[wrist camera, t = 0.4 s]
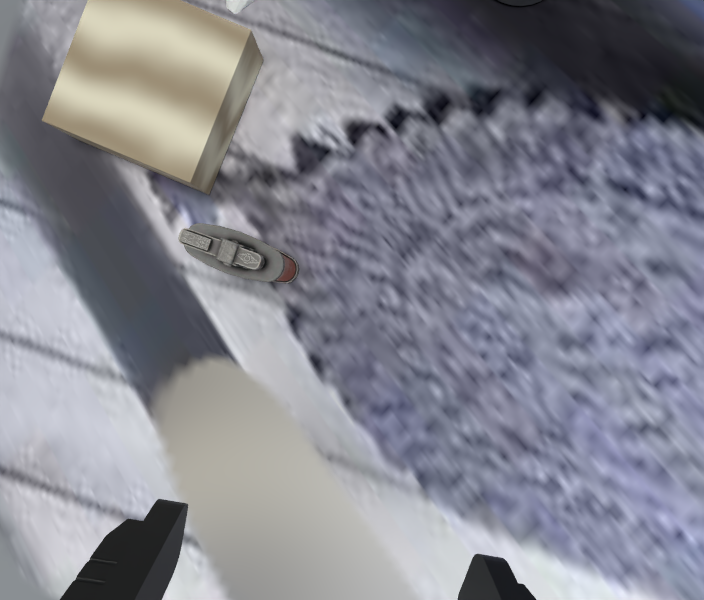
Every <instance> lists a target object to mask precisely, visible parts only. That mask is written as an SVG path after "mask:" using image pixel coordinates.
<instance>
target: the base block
mask: <svg viewBox="0 0 704 600" xmlns="http://www.w3.org/2000/svg"><path fill="white" fill-rule="evenodd" d="M262 62H263V58H262V55H261V53H260V50H259V48H258V45H257V43H256V41H255V38H254V36H253V33H252V31H251V30H250V29H247V28H245V27H243V26H240V25H238V24H236V23H233V22H231V21H228V20H226V19H224V18H221V17H219V16H216V15H214V14H212V13H209V12H207V11H204V10H202V9H200V8H197V7H195V6H192V5H190V4H188V3H185V2H183V1H180V0H88V1H87V4H86V7H85V9H84V12H83V14H82V17H81V20H80V22H79V25H78V28H77V30H76V33H75V35H74V38H73V41H72V43H71V46H70V48H69V51H68V54H67V56H66V59H65V61H64V64H63V67H62V69H61V72H60V75H59V77H58V80H57V82H56V85H55V88H54V90H53V93H52V95H51V98H50V101H49V103H48V106H47V109H46V111H45V114H44V116H43V119H42V121H44V122H46V123H48V124H49V125H51V126H53V127H55V128H57V129H59V130H61V131H62V132H64V133H66V134H68V135H70V136H72V137H74V138H76V139H77V140H80V141H82V142H84V143H87V144H89V145H92V146H94V147H96V148H99V149H101V150H103V151H106V152H108V153H111V154H113V155H115V156H118V157H120V158H123V159H125V160H127V161H130V162H132V163H134V164H137V165H139V166H142V167H144V168H146V169H149V170H151V171H153V172H156V173H158V174H161V175H163V176H165V177H168V178H170V179H173V180H175V181H177V182H180V183H182V184H184V185H187V186H189V187H192V188H194V189H196V190H199V191H201V192H203V193H206V194H208V195H209V194H210V192H211V189H212V187H213V184H214V182H215V179H216V177H217V174H218V172H219V169H220V167H221V164H222V162H223V159H224V157H225V154H226V152H227V150H228V147H229V145H230V142H231V140H232V137H233V135H234V132H235V130H236V127H237V125H238V122H239V120H240V117H241V115H242V112H243V110H244V107H245V105H246V102H247V100H248V97H249V95H250V92H251V90H252V87H253V85H254V82H255V80H256V77H257V75H258V72H259V70H260V67H261V65H262Z"/></svg>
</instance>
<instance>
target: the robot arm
mask: <svg viewBox="0 0 704 600" xmlns="http://www.w3.org/2000/svg"><path fill="white" fill-rule="evenodd" d="M498 1H500V2H502V3H505V4H509V5H515V6H525V5H532V4H535V3H537V2H540V1H542V0H498ZM187 510H188V504H186V503H180V502H174V501H168V500H162V499H158V500H157V501H156V502H155V504H154V505H153V507H152V508H151V510H150V511H149V513H148V514H147V516H146V518H145V519H144V521H139V520H133V519H127V520H126V521H124V522H123V523H122V524H120V525H119V526H118V527H117V528H115V529H114V530H113V531H111V532H110V533H109V534H108V535H106V537H105V538H104V539H103V541H102V542H101V543H100V545H99V546H98V548H97V549H96V550H95V552H94V553H93V555H92V556H91V557H90V560H89V562H87V563H86V564H85V566H84V567H83V568H82V570H81V571H80V572H79V574H78V575H77V578H76V580H75V581H73V582H72V584H71V585H70V586H69V588H68V589H67V590H66V592H65V593H64V595H63V596H62V597H61V599H60V600H162V598H163V595H164V593H165V591H166V589H167V587H168V584H169V582H170V580H171V578H172V575H173V573H174V570H175V568H176V565H177V562H178V558H179V555H180V551H181V546H182V540H183V534H184V528H185V522H186V516H187ZM458 600H536V599H535V597H534V596H533V595H532V594H531V593H530V591H529V590H528V589H527V588H526V586H525V585H524V584H519V583H518V582H517V580H516V578H515V576H514V574H513V572H512V570H511V568H510V566H509V564H508V563H507V561H506V560H505V559H503V558H499V557H493V556H487V555H481V554H476V555H474V557H473V559H472V561H471V564H470V566H469V569H468V572H467V574H466V577H465V579H464V582H463V584H462V587H461V590H460V592H459V595H458Z"/></svg>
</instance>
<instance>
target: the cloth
mask: <svg viewBox="0 0 704 600" xmlns="http://www.w3.org/2000/svg"><path fill="white" fill-rule="evenodd" d="M253 1H255V0H226V4H227V8H228V9H229V10H230V11H231V12H233V13H234V14H236V13H239V12H240V11H242V10H243V9H244V8H245V7H247V6H248V5H249V4H251V3H252V2H253Z"/></svg>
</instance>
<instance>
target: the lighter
mask: <svg viewBox="0 0 704 600" xmlns="http://www.w3.org/2000/svg"><path fill="white" fill-rule="evenodd" d="M178 239H179V242H180V243H181V244H183V245H184V247H185V249H186V251H187V252H188V253H189V254H190V255H191V256H193V257H195V258H196V259H198V260H200V261H202V262H203V263H205V264H207V265H209V266H211V267H213V268H215V269H218V270H220V271H222V272H225V273H227V274H231V275H234V276H238V277H242V278H245V279H251V280H257V281H264V282H278V283H291V282H293V281H294V280H295V279H296V278H297V276H298V273H299V265H298V263H297V261H296V260H295V259H294V258H292V257H290V256H288V255H287V254H285V253H283V252H282V251H280V250H278V249H276V248H273V247H271V246H269V245H268V244H266V243H264V242H262V241H260V240H258V239H256V238H253V237H251V236H249V235H246V234H244V233H242V232H239V231H235V230H232V229H228V228H225V227H221V226H215V225H209V224H202V223H199V224H194V225H192V226H191V227H190V228H189V229H187V228H184V229H182V230H181V232H180V234H179V238H178Z"/></svg>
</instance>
